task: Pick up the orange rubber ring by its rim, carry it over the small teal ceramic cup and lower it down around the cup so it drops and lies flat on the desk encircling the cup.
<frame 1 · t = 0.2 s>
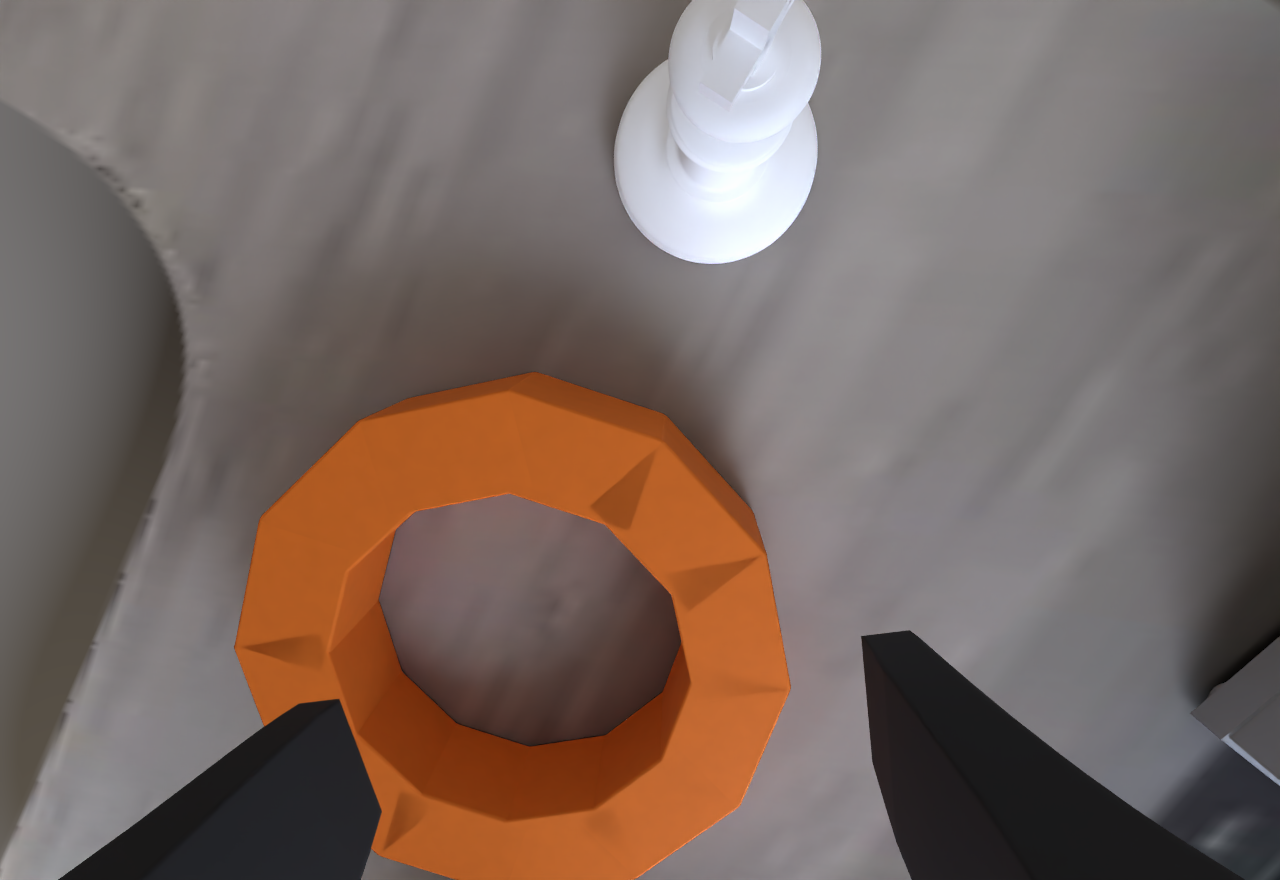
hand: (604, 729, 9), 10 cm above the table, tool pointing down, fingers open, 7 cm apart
ring: (532, 610, 20), on the table
chess piece: (713, 161, 17), on the table
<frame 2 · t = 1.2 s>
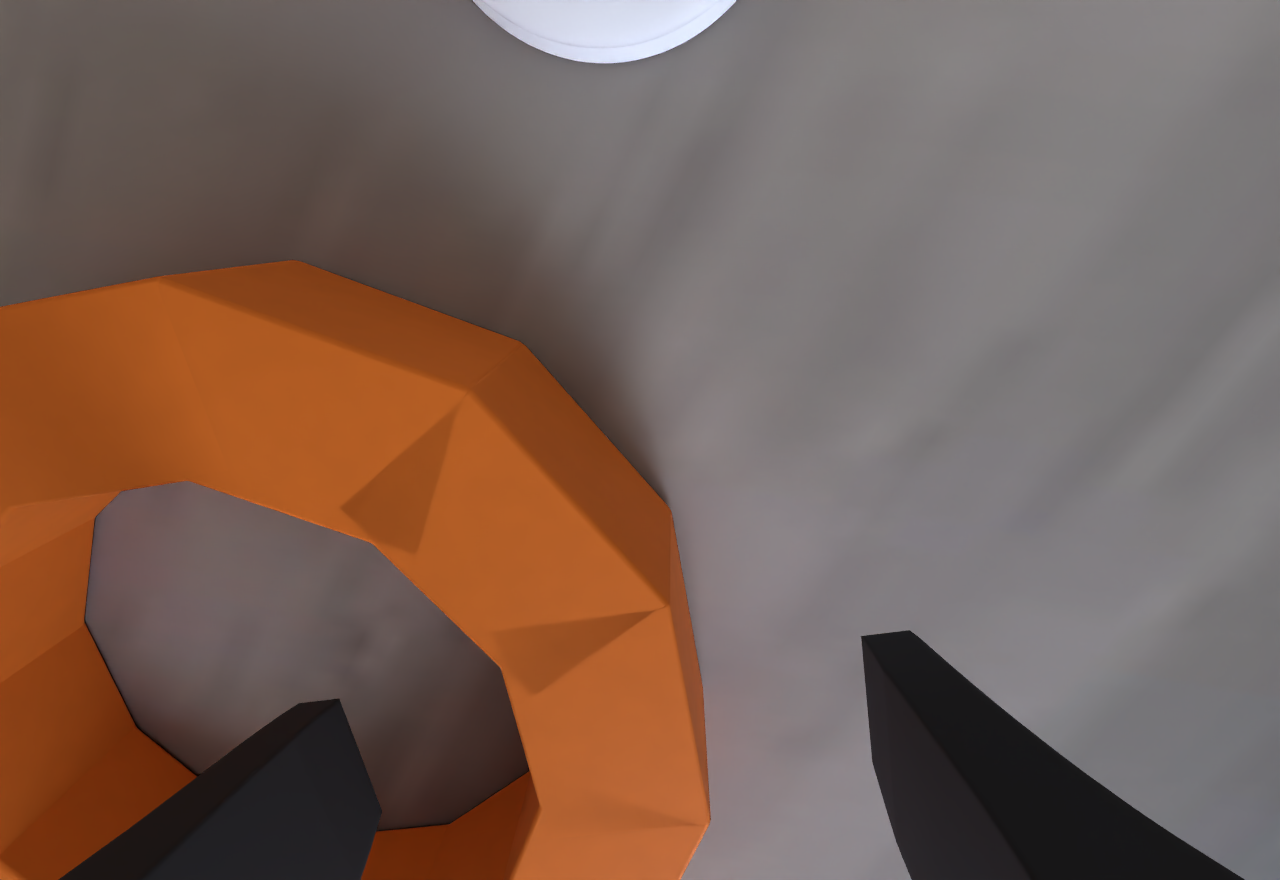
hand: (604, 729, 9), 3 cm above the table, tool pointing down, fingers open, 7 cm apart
ring: (326, 647, 13), on the table
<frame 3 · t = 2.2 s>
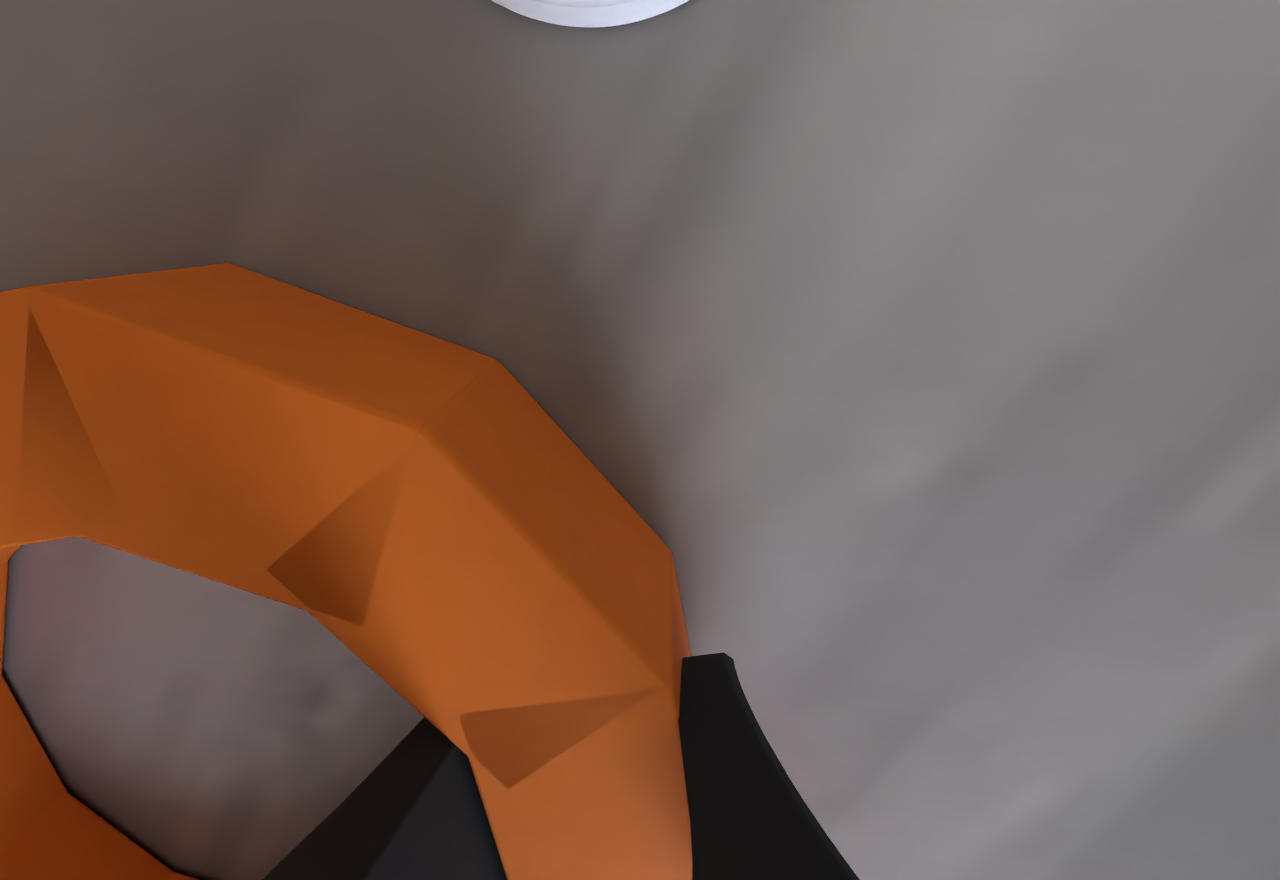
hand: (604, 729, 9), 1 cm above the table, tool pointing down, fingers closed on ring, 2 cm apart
ring: (278, 704, 11), on the table, touching gripper
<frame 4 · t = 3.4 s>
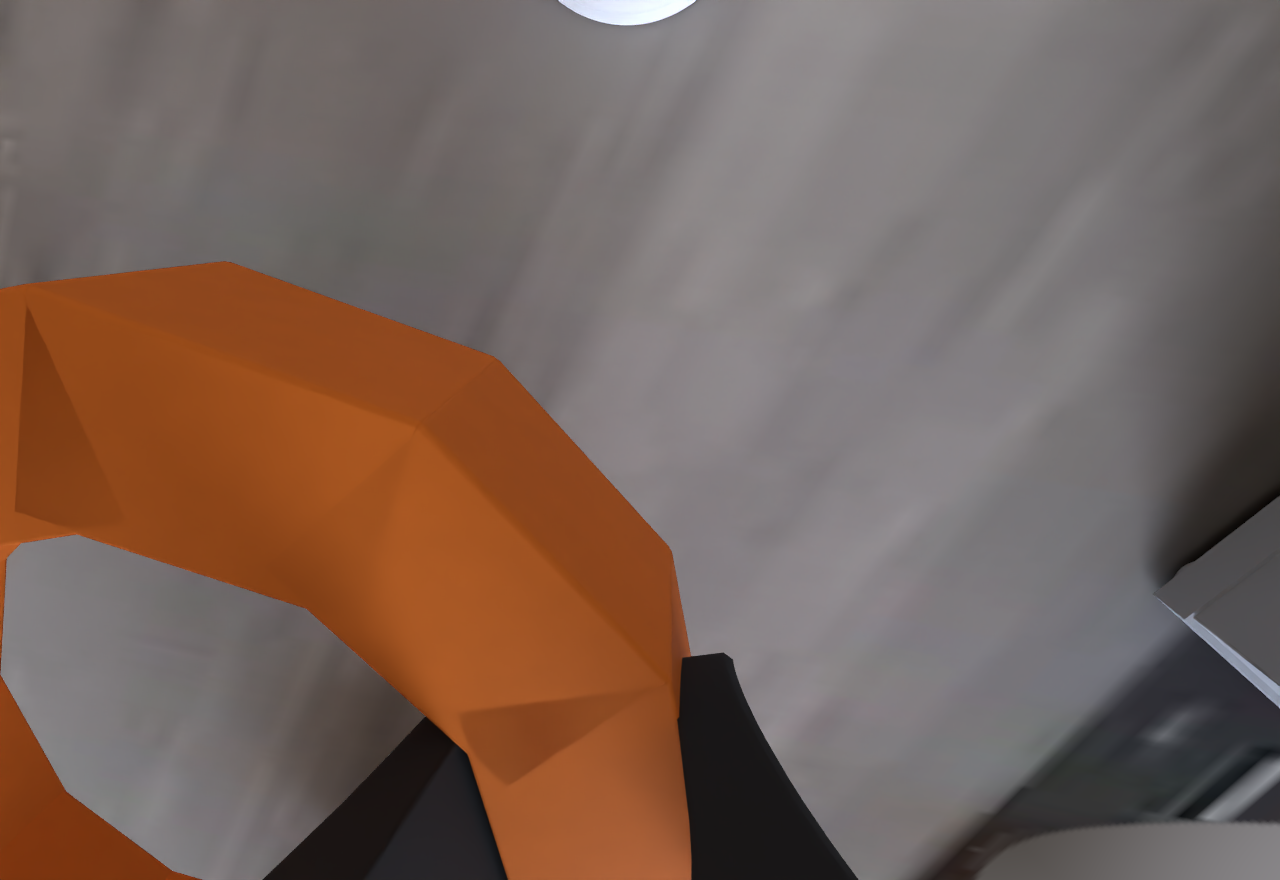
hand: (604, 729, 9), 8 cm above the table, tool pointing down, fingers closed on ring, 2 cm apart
ring: (278, 703, 11), point 7 cm above the table, touching gripper
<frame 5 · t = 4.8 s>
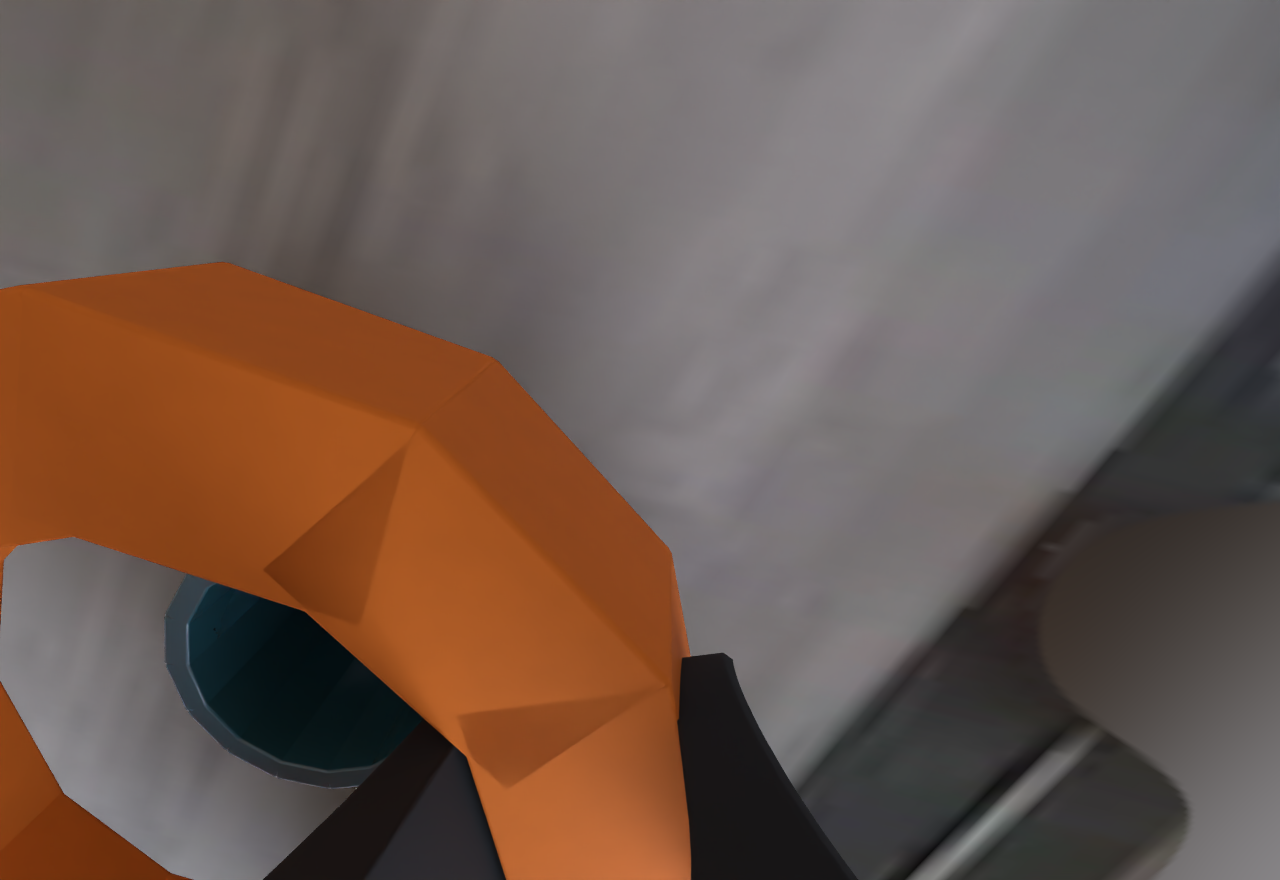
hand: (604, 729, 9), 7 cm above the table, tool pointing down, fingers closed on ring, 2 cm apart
cup: (412, 542, 17), on the table
ring: (276, 705, 11), point 6 cm above the table, touching gripper
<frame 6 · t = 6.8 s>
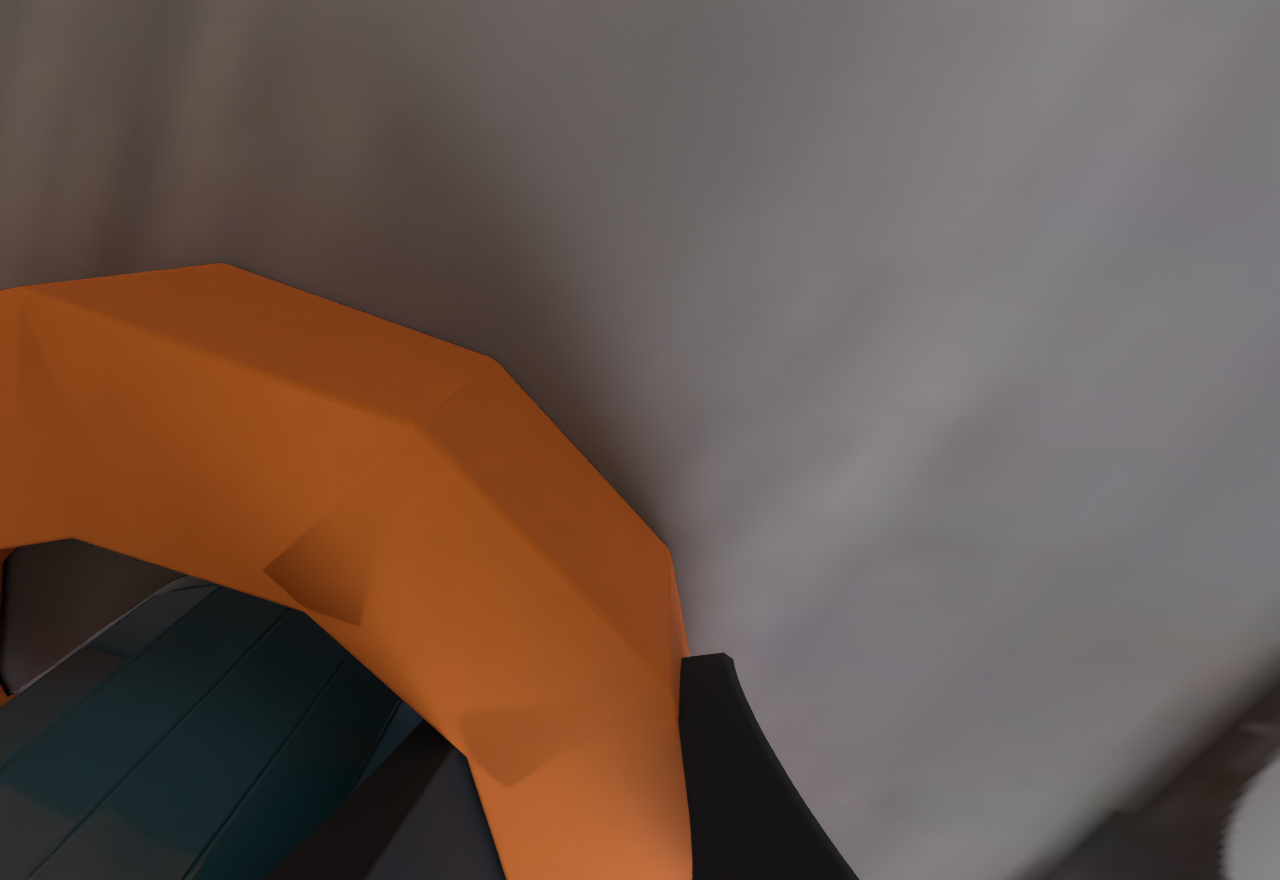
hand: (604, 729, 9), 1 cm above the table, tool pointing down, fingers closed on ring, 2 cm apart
cup: (277, 709, 11), on the table
ring: (276, 706, 11), on the table, touching gripper
when the fingers open (1 cm above the table, at t = 7.3 s): ring stays where it is, on the table.
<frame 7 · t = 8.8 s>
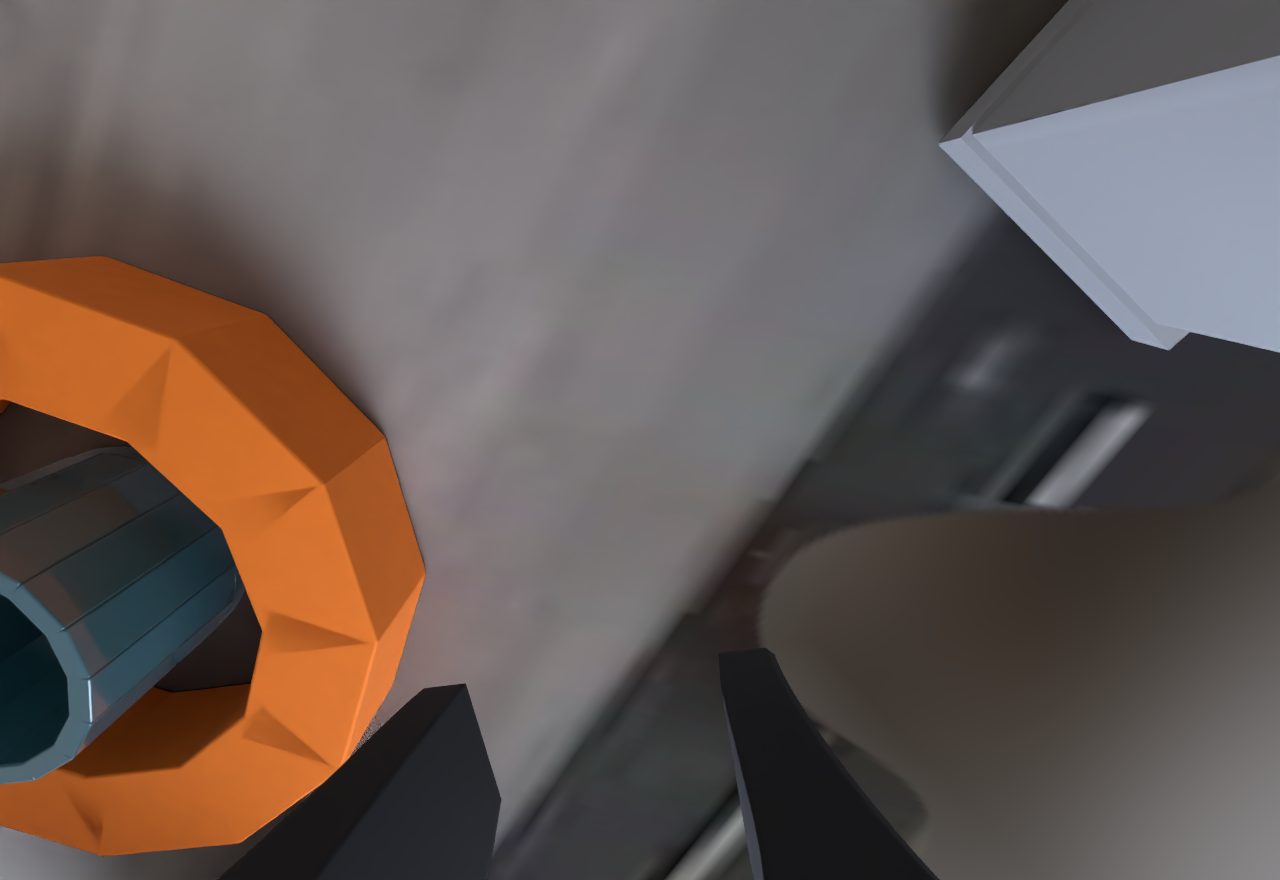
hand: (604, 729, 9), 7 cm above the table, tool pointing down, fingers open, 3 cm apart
cup: (146, 544, 17), on the table
ring: (151, 542, 17), on the table
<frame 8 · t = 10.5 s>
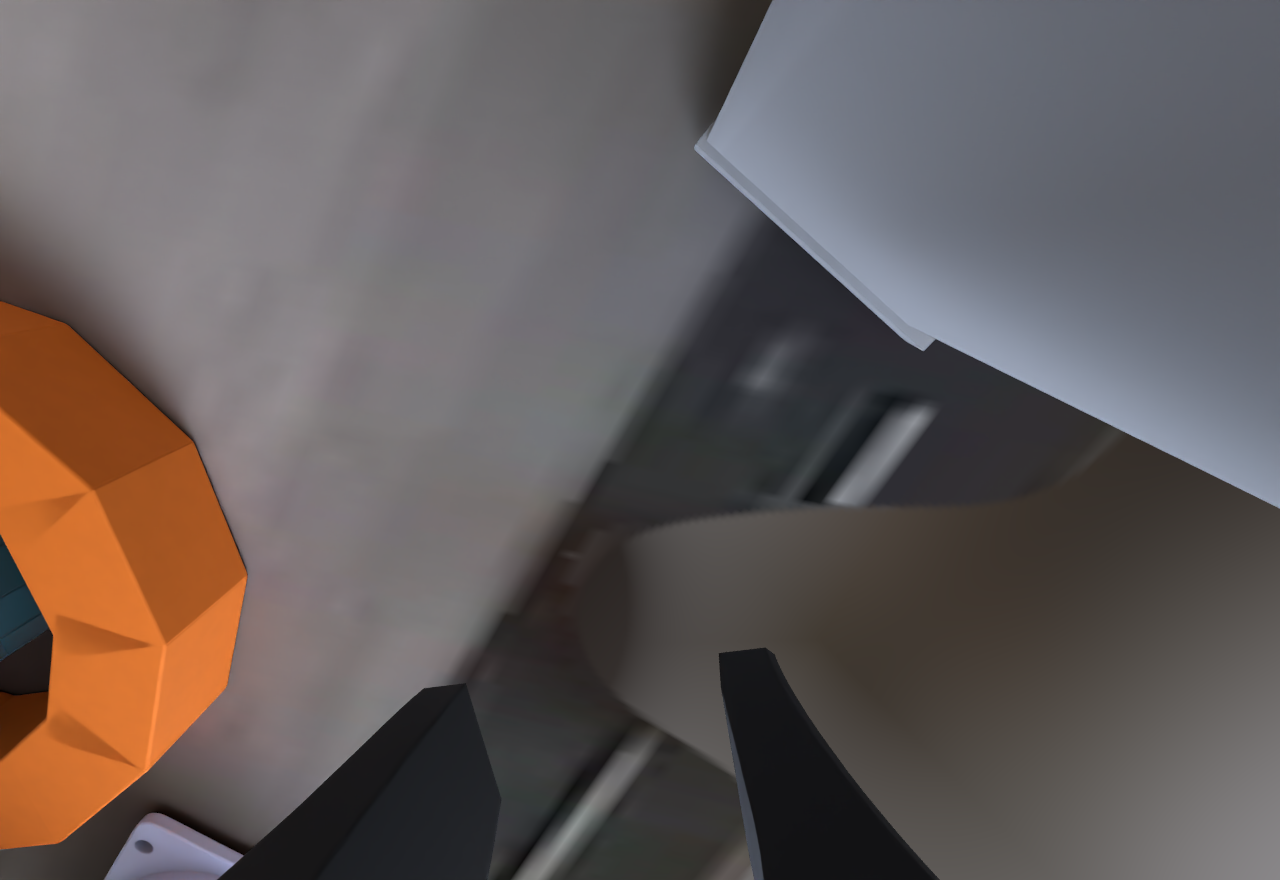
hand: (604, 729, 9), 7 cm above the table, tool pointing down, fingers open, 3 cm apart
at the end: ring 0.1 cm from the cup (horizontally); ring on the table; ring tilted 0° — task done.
